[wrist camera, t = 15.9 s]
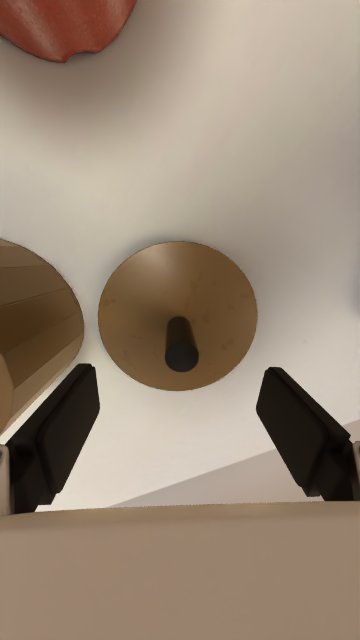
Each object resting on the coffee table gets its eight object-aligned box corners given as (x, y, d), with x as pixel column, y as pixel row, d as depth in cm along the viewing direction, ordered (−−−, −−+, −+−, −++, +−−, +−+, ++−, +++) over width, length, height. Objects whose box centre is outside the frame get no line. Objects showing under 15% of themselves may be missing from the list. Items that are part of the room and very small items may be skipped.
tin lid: (267, 247, 16) (329, 240, 10) (238, 385, 21) (266, 438, 15) (94, 236, 15) (38, 221, 9) (108, 383, 20) (80, 439, 14)
